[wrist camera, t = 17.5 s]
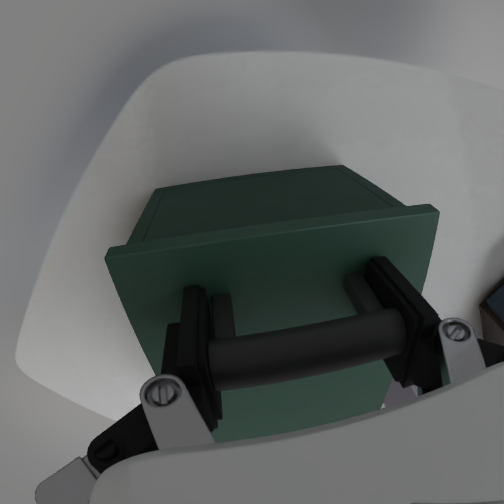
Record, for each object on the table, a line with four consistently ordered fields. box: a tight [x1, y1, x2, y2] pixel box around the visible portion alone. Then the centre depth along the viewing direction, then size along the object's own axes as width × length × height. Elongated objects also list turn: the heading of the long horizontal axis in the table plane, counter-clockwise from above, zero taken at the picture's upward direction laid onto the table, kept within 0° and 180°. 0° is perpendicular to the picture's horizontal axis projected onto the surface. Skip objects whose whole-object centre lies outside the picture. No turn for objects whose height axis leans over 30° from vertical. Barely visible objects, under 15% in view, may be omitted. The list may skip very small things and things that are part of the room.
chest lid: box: [105, 204, 440, 443], centre depth 14 cm, size 16×13×5 cm
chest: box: [126, 165, 406, 245], centre depth 20 cm, size 16×13×9 cm
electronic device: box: [383, 378, 418, 407], centre depth 30 cm, size 10×5×10 cm, turn 62°
